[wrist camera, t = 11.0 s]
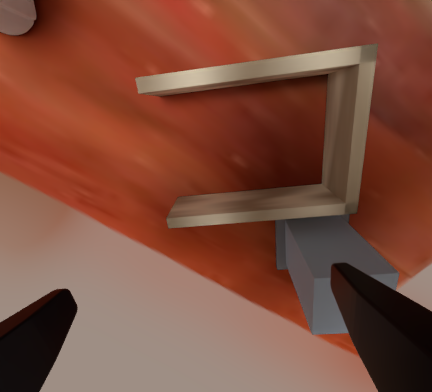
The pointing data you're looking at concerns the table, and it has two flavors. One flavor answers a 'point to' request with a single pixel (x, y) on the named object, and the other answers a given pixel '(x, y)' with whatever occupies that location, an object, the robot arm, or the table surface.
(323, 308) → the slate block
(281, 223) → the felt coaster
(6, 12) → the white rounded slab
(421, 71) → the table surface
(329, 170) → the u-shaped bracket
